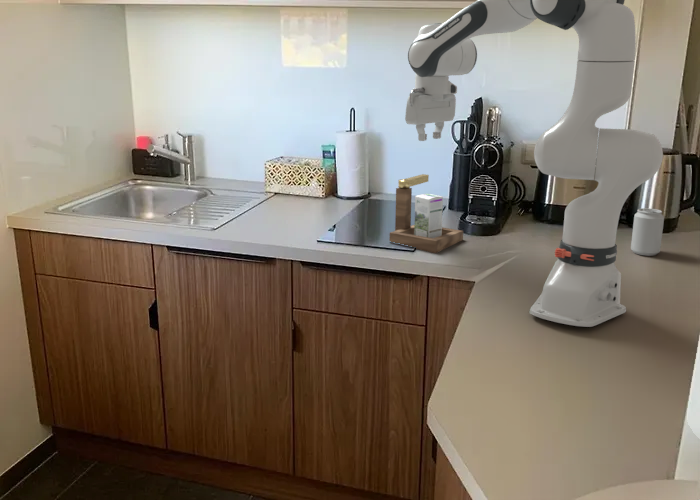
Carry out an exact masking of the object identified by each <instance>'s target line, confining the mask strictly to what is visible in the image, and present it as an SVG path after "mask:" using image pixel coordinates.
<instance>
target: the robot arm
mask: <svg viewBox="0 0 700 500" xmlns="http://www.w3.org/2000/svg"><path fill="white" fill-rule="evenodd" d="M624 4H625V0H476V1H474V2H472V3H471V4H469V5H467V6H465V7H463V9H461V10H459V11H458V12H457V13H455V14H454V15H452V16H451V17H450V18H449V19H447V20H446V21H445V22H443V23H441V22H439V23H429V24H425V25H423V26H421V28H420V29H419V31H418V34H417V37H416V38H415V39H413V41H412V43H411V45H410V47H409V49H408V53H407V60H408V64H409V65H410V68H411V69H412V71H413V72H414V73H415V77H414V79H415V83H414V84H415V85H414V88H413V89H412V90H411V91H410V93H409V95H408V98H407V100H406V104H405V105H406V106H405V116H404V117H405V118H404V119H405V122H406V124H407V125H413V126H415V128H416V131H417V135H418V137H417V138H418V141H420V142H425V141H427V140H428V133H426V131H425V128H426V124H433V123H434V125H435V128H434V131H433V132H432V138H433V140H434V139H435V140H439V139H441V138H442V132H443V129H444V127H445V122H451V121H453V120H454V118H455V116H456V115H455V114H456V106H457V105H456V104H457V98H456V94H458V93H457V92H458V86H457V85H455V84H454V83H452V81H451V80H449V76H463V75H467V74H470V73H471V71H472V70H473V69H474V67H475V66H476V64H477V60H478V49H477V47H476V44H475V42H474V41H473V40H472V39H471V38H474V37H478V36H483V35H493V34H494V35H495V34H503V33H504V34H505V33H506V34H507V33H514V32H516V31H518V30H521V29H523V28H526V27H528V25H530V24H532V23H533V22H535V20H536V19H538V20H540V21H541V22H544V23H546V24H548V25H551V26H555V27H557V28H559V29H562V30H564V31H568V30H569V29H571V28H572V29H573V30H574V31H575V32H576V34H577V36H578V51H577V61H576V74H575V80H574V81H575V82H574V86H573V93H572V97H571V100H570V102H569V104H568V107H567V109H566V111H565V112H564V113H563V115H562V117H560V119H558V121H557V122H555V123H554V124H553V125H552V126H550V127H549V128H547V129H545V131H543V133H541V134H540V135H539V137H538V138H537V140H536V142H535V145H534V150H533V157H534V161H535V164H536V167H537V168H538V170H539V171H540V172H541V173H542V174H544V175H548V176H552V177H555V178H561V179H566V180H567V179H569V180H584V181H585V180H586V181H589V180H590V181H595V182H597V183H598V184H597V187H596V188H595V189H594V190H593V191H590V192H589V193H587V194H583V195H581V196H578V197H577V198H575V199H572V200H571V201H570V202H569V203H568V205H566V207H565V210H564V217H563V218H564V220H563V230H562V239H561V240H560V243H559V246H558V247H556V248H555V250H554V257H555V258H557V260H556V261H555V262H554V265H553V267H552V268H551V270H550V272H549V274H548V276H547V279H546V280H545V283H544V284H543V288H542V292H541V294H540V295H538V298H537V299H536V301H534V302H533V304H532V306H530V308H529V314H530V315H533V316H534V317H537V318H539V319H542V320H547V321H551V322H554V323H558V324H564V325H569V326H575V327H587V328H588V327H589V328H592V327H594V326H597V325H600V324H603V323H604V322H606V321H608V320H611V319H613V318H614V319H615V317H618V316H620V315H622V314H623V315H624V314H625V313H626V312H627V307H626V306H625V305H623V304H622V303H621V285H622V284H621V281H622V273H621V272H620V270H619V269H618V268H617V266H616V264H615V262H616V261H617V255H618V249H617V248H618V244H616V240H617V239H616V238H617V232H618V225H619V222H620V221H619V220H620V216H621V212H622V209H623V206H624V204H625V202H626V201H627V199H628V198H629V196H630V195H631V194H632V193H633V192H634V191H635V189H637V188H638V187H639V186H641V185H642V184H643V183H645V182H647V181H649V180H650V179H651V178H653V177H654V176H655V175H656V174H657V172H658V171H659V169H660V168H661V166H662V162H663V159H664V158H663V157H664V152H663V147H662V144H661V141H660V140H659V138H658V137H657V136H656V135H655V134H654V133H650V132H645V131H641V130H636V129H632V128H631V129H629V128H625V129H624V128H602V127H600V128H599V127H597V126H596V123H597V121H598V119H600V117H602V116H604V115H606V114H609V113H611V112H613V111H616V110H618V109H620V108H621V107H623V106H624V105H625V104H626V103H627V102H628V101H629V99H630V97H631V95H632V88H633V87H632V85H633V77H634V69H635V60H636V59H635V57H636V45H637V44H636V43H637V42H636V24H635V23H636V22H635V16H634V12H633V11H632V10H631V8H629V6H626V5H624Z"/></svg>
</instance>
